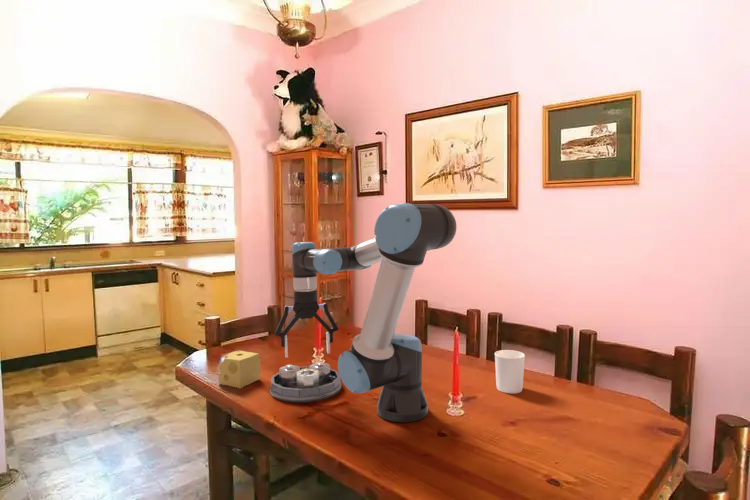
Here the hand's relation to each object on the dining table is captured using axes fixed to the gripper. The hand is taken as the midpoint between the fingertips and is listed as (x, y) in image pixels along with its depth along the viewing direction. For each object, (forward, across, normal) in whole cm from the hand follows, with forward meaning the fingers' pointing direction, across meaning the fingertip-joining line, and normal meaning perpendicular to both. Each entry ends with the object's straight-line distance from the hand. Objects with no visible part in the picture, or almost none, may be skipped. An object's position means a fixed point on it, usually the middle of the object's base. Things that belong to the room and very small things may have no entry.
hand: (307, 354), depth 152 cm
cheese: (+13, +22, -20) cm, 33 cm away
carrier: (+14, 0, -7) cm, 15 cm away
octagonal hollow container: (+12, 0, -1) cm, 12 cm away
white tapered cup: (+15, -66, +12) cm, 68 cm away
